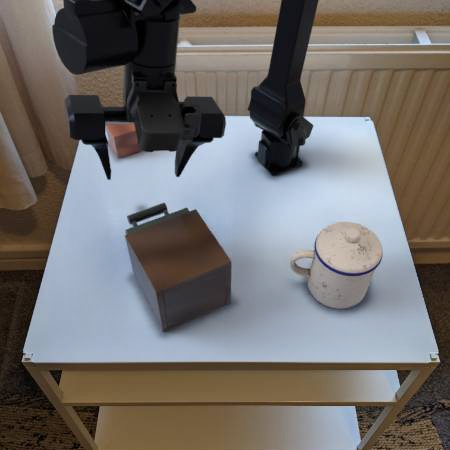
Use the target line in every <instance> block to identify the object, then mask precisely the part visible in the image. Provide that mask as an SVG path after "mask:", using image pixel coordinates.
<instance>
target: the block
mask: <svg viewBox="0 0 450 450" xmlns="http://www.w3.org/2000/svg"><path fill="white" fill-rule="evenodd" d="M105 127H106V136H107V140H108V145H110V147H111V149H112V150H113V152H114V154H115V156H116V157H117V159H120V158H121V159H122V158H124V157H127V156H131V155H133V154H137V153H139V152H142V151H143V150H141V149H140V148H139V145H138V139H137V135H136V130H135V125H134V124H109V125H105Z"/></svg>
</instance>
